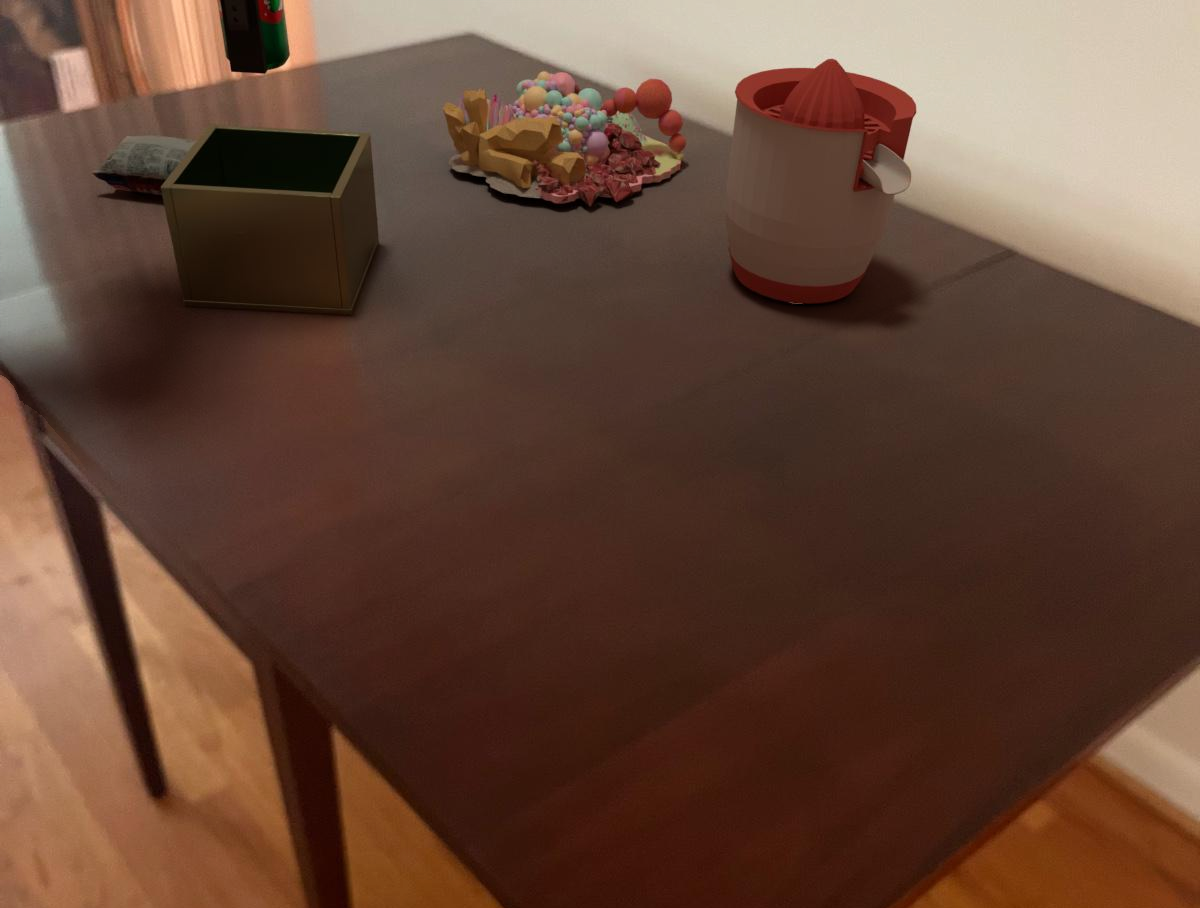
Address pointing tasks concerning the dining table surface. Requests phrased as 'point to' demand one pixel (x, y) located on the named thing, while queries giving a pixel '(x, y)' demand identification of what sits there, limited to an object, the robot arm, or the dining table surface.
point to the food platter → (565, 139)
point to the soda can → (269, 32)
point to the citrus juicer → (813, 178)
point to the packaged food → (143, 162)
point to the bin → (273, 219)
